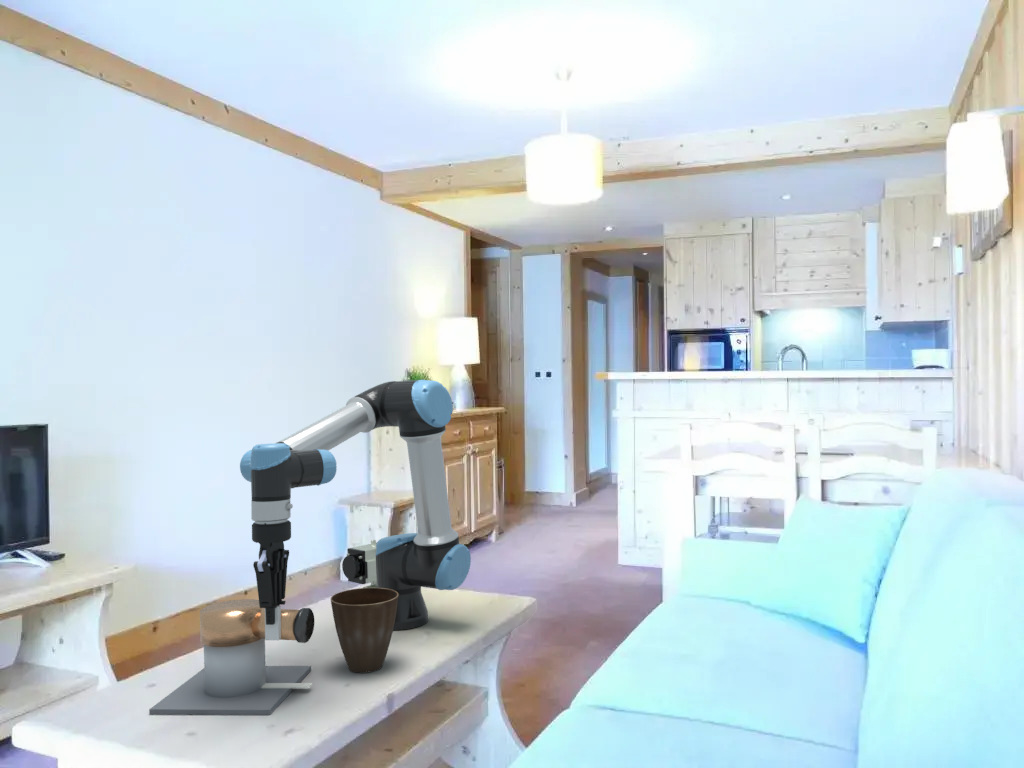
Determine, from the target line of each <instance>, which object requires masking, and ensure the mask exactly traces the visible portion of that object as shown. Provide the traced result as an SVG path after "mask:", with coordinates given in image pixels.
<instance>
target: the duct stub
mask: <svg viewBox="0 0 1024 768" xmlns="http://www.w3.org/2000/svg"><path fill="white" fill-rule="evenodd" d="M203 666H204V667H203V668H202V669H201V670H200V671H198V672H197V673H196V674H194V675H193V676H192V677H190V678H189V679H188V680H186V681H185V682H184V683H181V685H180V686H179V687H177V688H176V689H174V690H173V691H172V692H171V693H169V694H168V695H166V696H165V697H164V698H162V699H161V700H160V701H158V702H157V703H156V704H155V705H153V706H152V707H150V708H149V710H148V711H149V712H148V713H149V714H152V716H153V715H154V714H184V715H185V714H197V715H196V716H198V715H199V714H200V715H199V716H204V715H205V716H221V715H222V716H271V715H272V713H273V712H274V711H275V710H276V709H277V708H278V707H279V706H280V705H281V704H282V703H283V702H284V701H285V699H286V698H287V697H288V696H289V695H290V694H292V692H293V691H294V689H310V688H311V687H312V686H313V684H314V683H313V682H302V681H303V680H304V679H305V678H306V677H307V676H308V675H309V673H311V671H312V665H267V664H266V640H265V639H260V640H258V641H255V642H252V643H248V644H243V645H238V646H229V647H212V646H206V645H204V644H203ZM184 715H183V716H184ZM154 716H155V715H154Z"/></svg>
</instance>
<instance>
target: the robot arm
mask: <svg viewBox="0 0 1024 768" xmlns="http://www.w3.org/2000/svg"><path fill="white" fill-rule="evenodd" d="M453 409H454V408H453V401H452V397H451V395H450V393H449V390H448V389H447V388H446V387H445V386H444V385H443V384H442V383H441V382H439V381H436V380H427V379H414V380H399V381H395V380H392V381H386V382H383V383H380V384H377V385H375V386H373V387H370V388H368V389H367V390H364V391H363V392H360V393H359V394H356V395H354V396H353V397H351V398H349V399H348V400H347V402H346V404H345V406H343V407H341V408H339V409H337V410H335V411H332V413H329V414H328V415H325V416H323V417H322V418H321V419H319V420H317V421H315V422H312V423H311V424H309V425H308V426H305V427H304V428H302V429H300V430H298V431H296V432H295V433H292V434H290V435H288V436H287V437H284V438H283V439H281V440H279V441H276V442H275V443H260V444H255V445H254V446H253V447H252V448H251V449H250V450H248V451H246V452H245V453H244V454H243V455H242V457H241V459H240V463H239V470H240V473H241V476H242V478H243V479H244V480H245V481H247V482H249V483H251V484H250V487H251V489H250V490H251V504H250V505H251V509H250V510H251V511H250V512H251V513H250V514H251V515H250V516H251V520H252V521H254V522H253V523H252V524H251V541H252V542H254V543H256V544H257V543H258V544H259V552H258V560H257V561H254V562H253V564H252V565H253V570H254V573H255V579H256V586H257V588H256V589H257V594H258V596H257V597H258V600H259V605H260V608H265V641H280V640H279V639H281V609H282V607H281V605H282V606H283V605H285V604H286V600H285V598H286V587H287V584H286V583H287V574H288V561H289V557H290V550H289V549H285V544H284V543H285V542H286V541H289V540H290V539H291V538H292V522H291V521H290V520H289V519H290V518H291V514H292V513H291V509H293V507H294V506H293V503H291V493H292V489H295V488H302V487H311V486H321V485H325V484H328V483H330V482H331V481H333V479H334V478H335V476H336V474H337V470H338V468H337V460H336V457H335V456H334V454H333V453H332V452H331V451H330V450H332V449H334V448H336V447H338V446H339V445H340V444H342V443H344V442H346V441H348V440H349V439H351V438H353V437H355V436H357V435H358V434H359V433H362V434H364V433H365V434H366V433H370V432H372V431H373V430H376V429H379V428H385V427H386V428H387V427H395V428H396V427H398V432H399V437H400V438H402V440H404V441H405V442H406V445H407V446H406V447H407V455H408V461H409V468H410V469H409V470H410V477H411V485H412V486H411V487H412V493H413V494H412V495H413V501H414V509H415V517H416V524H417V526H416V527H417V532H418V533H417V532H409V533H402V534H401V533H400V534H396V535H390V536H389V535H388V536H385V537H383V538H380V539H379V540H378V541H376V543H377V544H376V555H375V556H376V575H377V588H386V589H391V590H394V591H396V592H398V603H397V611H396V617H395V623H394V627H393V631H402V630H403V631H405V630H409V629H411V630H412V629H414V628H419V627H421V626H423V625H425V624H427V623H428V622H429V611H428V610H429V609H428V608H427V604H426V601H425V599H424V597H423V593H422V588H428V589H434V590H436V589H437V590H438V591H444V590H445V591H446V590H448V591H453V590H456V589H458V588H460V586H462V585H463V583H464V582H465V581H466V579H467V577H468V575H469V572H470V569H471V568H470V567H471V562H472V561H471V559H472V558H471V553H470V549H469V548H468V547H467V546H466V545H464V544H463V543H460V538H459V537H460V536H459V532H458V531H456V530H455V529H454V528H452V521H451V512H450V506H449V505H450V504H449V497H448V487H447V479H446V471H445V464H444V463H445V462H444V454H443V446H442V439H441V438H442V436H443V434H444V433H445V432H446V429H447V428H446V426H447V425H448V423H450V421H451V420H452V419H451V418H452V416H451V415H453Z"/></svg>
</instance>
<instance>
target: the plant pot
mask: <svg viewBox="0 0 1024 768" xmlns="http://www.w3.org/2000/svg"><path fill="white" fill-rule="evenodd" d="M397 603H398V592H396V591H394V590H391V589H386V588H363V587H359V588H353V589H348V590H343V591H340V592H336V593H334V594H333V595H332V596H331V597H330V604H331V610H332V616H333V621H334V626H335V627H334V628H335V630H336V634H337V638H338V641H339V645H340V648H341V651H342V654H343V657H344V660H345V662H346V664H347V667H348V669H349V670H350V672H354V673H359V674H361V673H365V674H366V673H372V672H376V671H378V670H380V669H382V667H383V666H384V663H385V659H386V657H387V653H388V651H389V647H390V644H391V643H390V642H391V639H392V636H393V631H394V630H393V627H394V623H395V617H396V611H397Z"/></svg>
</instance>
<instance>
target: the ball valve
mask: <svg viewBox="0 0 1024 768" xmlns="http://www.w3.org/2000/svg"><path fill="white" fill-rule="evenodd" d="M376 544H377V540H376V539H371V540H370V543H368V544H363V545H359V546H354V547H350V548H347V553H346V556H345V557H344V558H343V560H342V565H341V566H342V567H341V568H342V572H343V574H344V576H345V578H347V579H348V582H351V583H356V584H361V585H366V584H369V585H366V586H363V587H362V588H377V575H376V556H375V555H376Z"/></svg>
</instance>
